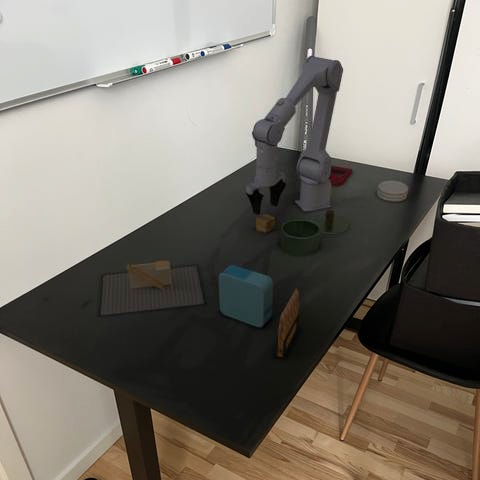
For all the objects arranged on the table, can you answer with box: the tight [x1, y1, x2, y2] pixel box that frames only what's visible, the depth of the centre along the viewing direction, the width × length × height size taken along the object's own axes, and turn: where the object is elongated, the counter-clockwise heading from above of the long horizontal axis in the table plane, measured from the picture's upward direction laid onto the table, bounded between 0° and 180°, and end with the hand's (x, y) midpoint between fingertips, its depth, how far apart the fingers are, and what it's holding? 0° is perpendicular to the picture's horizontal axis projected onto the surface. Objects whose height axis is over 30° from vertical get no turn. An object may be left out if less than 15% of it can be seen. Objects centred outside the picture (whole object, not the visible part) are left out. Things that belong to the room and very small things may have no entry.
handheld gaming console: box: [328, 165, 353, 187], centre depth 183 cm, size 10×1×15 cm
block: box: [255, 213, 276, 233], centre depth 152 cm, size 4×4×4 cm
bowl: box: [279, 218, 322, 255], centre depth 144 cm, size 11×11×5 cm
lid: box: [309, 209, 350, 236], centre depth 153 cm, size 12×12×5 cm
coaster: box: [376, 180, 409, 203], centre depth 170 cm, size 10×10×4 cm
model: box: [126, 260, 174, 291], centre depth 127 cm, size 3×11×8 cm, turn 100°
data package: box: [218, 264, 274, 328], centre depth 116 cm, size 12×4×12 cm, turn 59°
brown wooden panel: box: [275, 287, 300, 359], centre depth 109 cm, size 11×2×12 cm, turn 157°
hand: (265, 209), depth 149 cm, fingers open, 7 cm apart
